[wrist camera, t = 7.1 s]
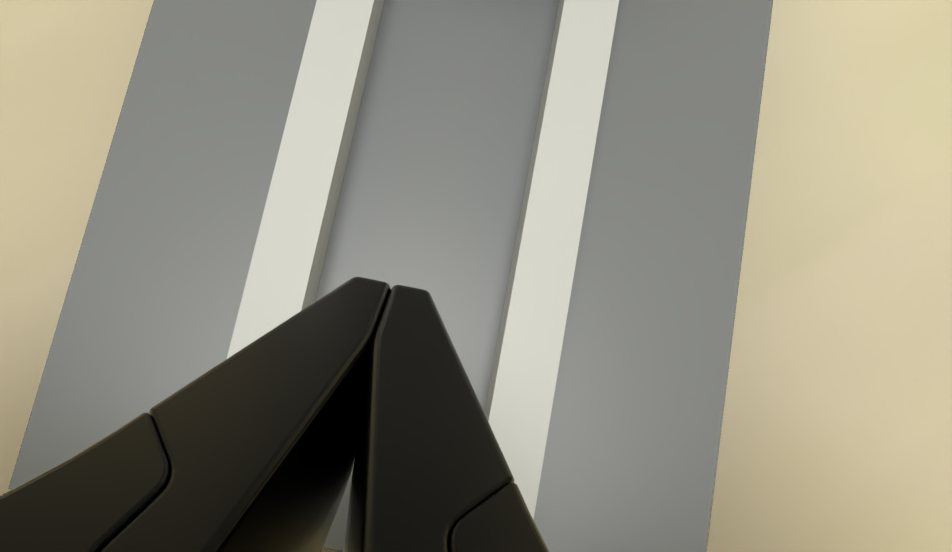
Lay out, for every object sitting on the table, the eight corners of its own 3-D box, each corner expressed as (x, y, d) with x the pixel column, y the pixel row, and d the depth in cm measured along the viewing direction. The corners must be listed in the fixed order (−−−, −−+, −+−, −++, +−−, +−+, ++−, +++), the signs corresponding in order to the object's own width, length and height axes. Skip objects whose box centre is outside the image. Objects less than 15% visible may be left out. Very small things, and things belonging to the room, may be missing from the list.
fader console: (664, 597, 17) (723, 631, 13) (57, 484, 16) (-28, 492, 13) (755, -104, 20) (819, -207, 17) (256, -212, 20) (226, -337, 16)
